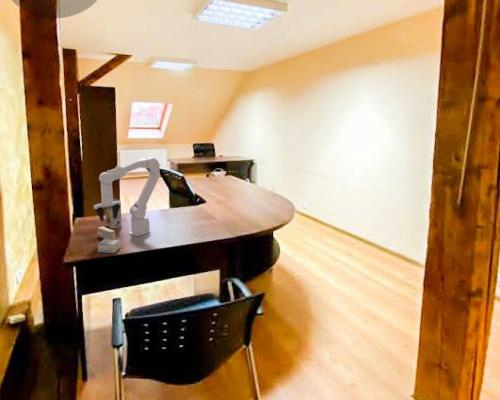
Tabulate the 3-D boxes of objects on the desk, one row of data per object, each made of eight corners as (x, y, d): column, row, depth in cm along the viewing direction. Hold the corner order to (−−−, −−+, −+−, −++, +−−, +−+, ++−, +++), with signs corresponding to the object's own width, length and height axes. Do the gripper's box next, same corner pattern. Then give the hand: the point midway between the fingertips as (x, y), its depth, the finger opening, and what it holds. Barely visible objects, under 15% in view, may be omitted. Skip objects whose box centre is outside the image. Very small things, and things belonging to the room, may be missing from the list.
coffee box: (106, 225, 223) (104, 199, 220) (116, 223, 228) (115, 198, 224) (111, 228, 217) (109, 202, 213) (122, 226, 221) (120, 200, 217)
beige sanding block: (103, 235, 205) (102, 226, 204) (115, 239, 198) (114, 230, 197) (98, 236, 203) (97, 227, 202) (110, 241, 196) (109, 232, 195)
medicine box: (120, 239, 186) (113, 244, 177) (120, 247, 187) (114, 253, 178) (104, 238, 186) (97, 244, 177) (105, 247, 187) (97, 252, 178)
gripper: (115, 192, 203) (116, 215, 206) (90, 195, 192) (91, 220, 195) (122, 193, 199) (123, 218, 202) (97, 197, 188) (99, 223, 191)
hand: (108, 219), depth 198 cm, fingers open, 7 cm apart
